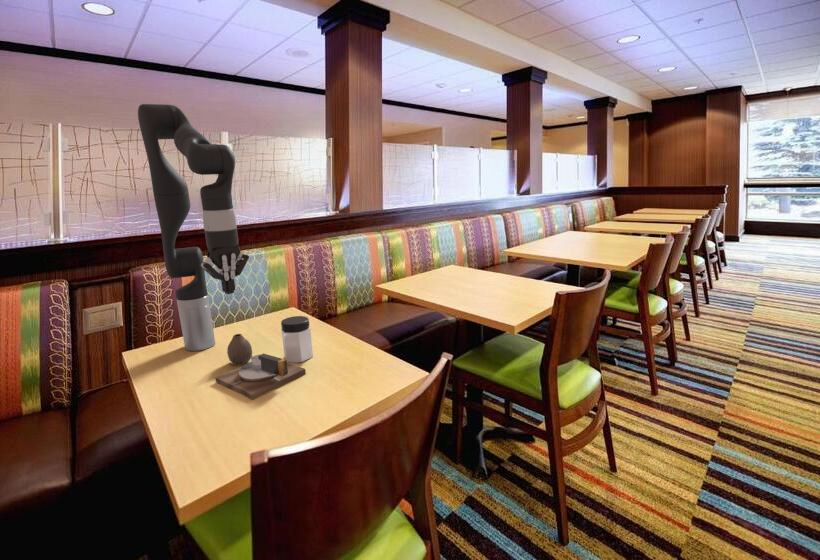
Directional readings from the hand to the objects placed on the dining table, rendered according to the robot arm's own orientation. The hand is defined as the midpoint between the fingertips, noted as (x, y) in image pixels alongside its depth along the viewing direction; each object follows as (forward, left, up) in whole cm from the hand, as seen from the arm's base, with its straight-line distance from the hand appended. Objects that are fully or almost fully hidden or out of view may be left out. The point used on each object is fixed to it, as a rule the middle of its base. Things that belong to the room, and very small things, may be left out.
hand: (229, 293), depth 112 cm
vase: (-10, +7, -25) cm, 28 cm away
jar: (+2, +19, -25) cm, 31 cm away
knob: (+6, +4, -23) cm, 24 cm away
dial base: (+4, +4, -25) cm, 25 cm away
